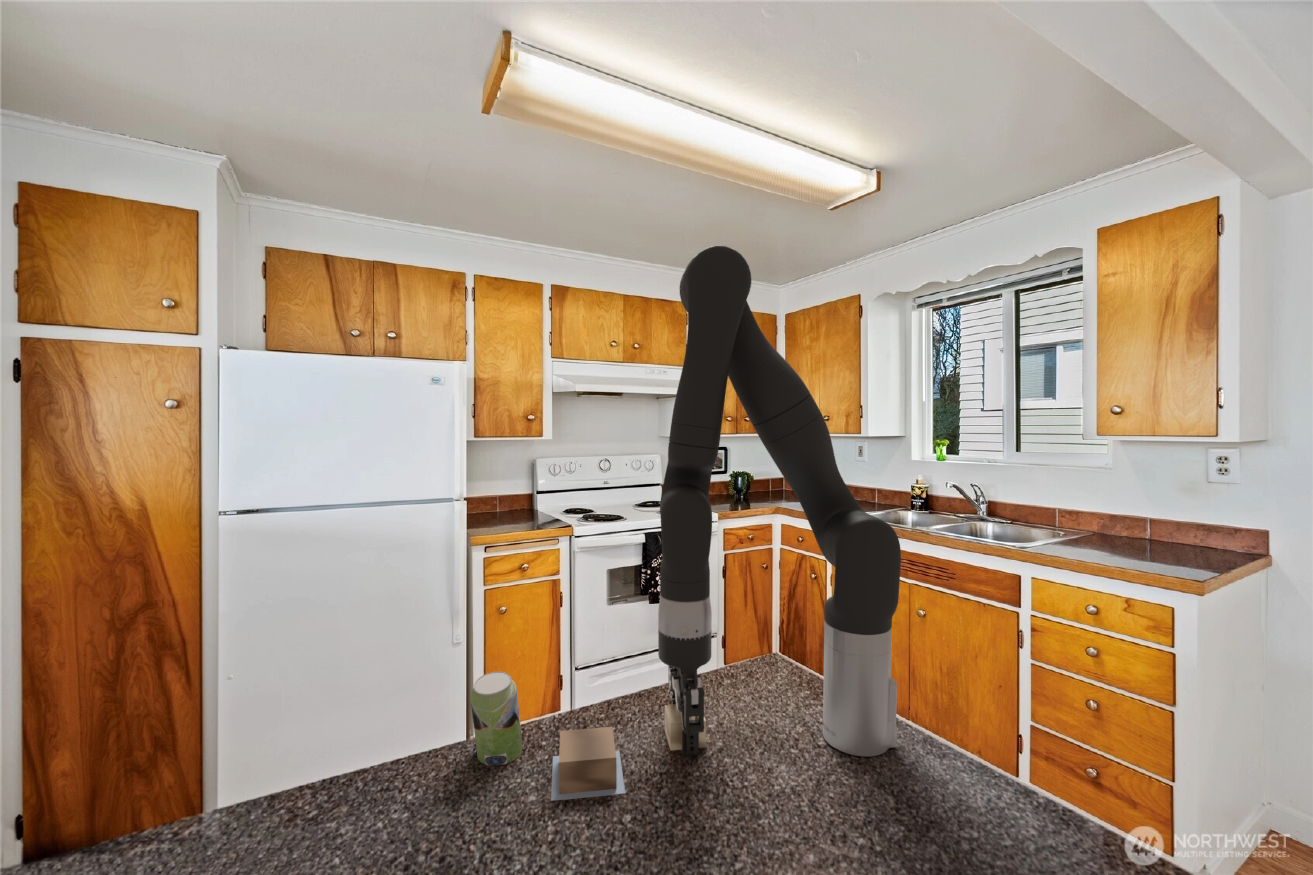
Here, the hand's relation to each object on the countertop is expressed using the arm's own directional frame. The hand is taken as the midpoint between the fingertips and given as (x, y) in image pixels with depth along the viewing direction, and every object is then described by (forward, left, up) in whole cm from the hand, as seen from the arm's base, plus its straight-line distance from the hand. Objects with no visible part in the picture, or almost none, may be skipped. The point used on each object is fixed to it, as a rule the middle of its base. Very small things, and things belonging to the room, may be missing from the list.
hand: (684, 738), depth 83 cm
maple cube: (0, 0, -1) cm, 1 cm away
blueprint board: (+13, +6, -1) cm, 14 cm away
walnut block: (+14, +6, 0) cm, 15 cm away
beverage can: (+26, 0, -1) cm, 26 cm away
